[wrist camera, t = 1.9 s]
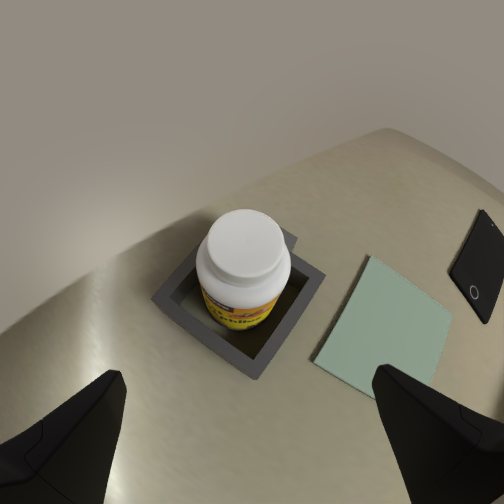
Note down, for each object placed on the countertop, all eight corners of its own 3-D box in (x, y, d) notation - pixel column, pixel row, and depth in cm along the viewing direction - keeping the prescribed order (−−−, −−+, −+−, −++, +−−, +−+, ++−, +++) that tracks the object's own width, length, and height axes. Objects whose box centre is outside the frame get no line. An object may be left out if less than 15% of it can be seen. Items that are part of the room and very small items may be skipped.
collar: (253, 379, 20) (257, 379, 17) (160, 309, 22) (150, 299, 19) (323, 274, 24) (334, 260, 22) (238, 219, 26) (239, 200, 24)
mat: (411, 419, 18) (413, 419, 18) (312, 362, 21) (313, 362, 20) (450, 315, 23) (452, 314, 23) (370, 256, 25) (371, 255, 25)
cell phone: (446, 276, 26) (450, 272, 25) (479, 210, 32) (482, 207, 31) (482, 327, 23) (487, 325, 22) (508, 250, 29) (512, 247, 28)
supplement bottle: (197, 320, 22) (172, 272, 12) (218, 262, 24) (212, 185, 15) (262, 340, 21) (287, 307, 12) (279, 279, 24) (308, 211, 15)
